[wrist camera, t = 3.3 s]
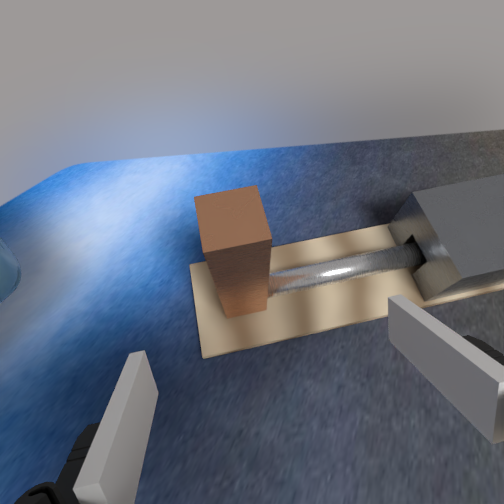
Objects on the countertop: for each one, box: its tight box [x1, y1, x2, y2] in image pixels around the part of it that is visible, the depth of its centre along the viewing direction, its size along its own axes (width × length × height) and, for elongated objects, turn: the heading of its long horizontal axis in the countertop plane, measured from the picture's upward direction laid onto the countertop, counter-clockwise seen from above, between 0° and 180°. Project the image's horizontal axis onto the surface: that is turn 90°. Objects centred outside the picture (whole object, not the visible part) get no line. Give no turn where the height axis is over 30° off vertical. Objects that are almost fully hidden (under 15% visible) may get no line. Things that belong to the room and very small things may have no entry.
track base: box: [190, 223, 504, 359], centre depth 33 cm, size 34×10×1 cm, turn 102°
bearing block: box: [387, 174, 504, 302], centre depth 30 cm, size 10×9×6 cm
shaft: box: [194, 185, 427, 319], centre depth 25 cm, size 21×4×14 cm, turn 102°
